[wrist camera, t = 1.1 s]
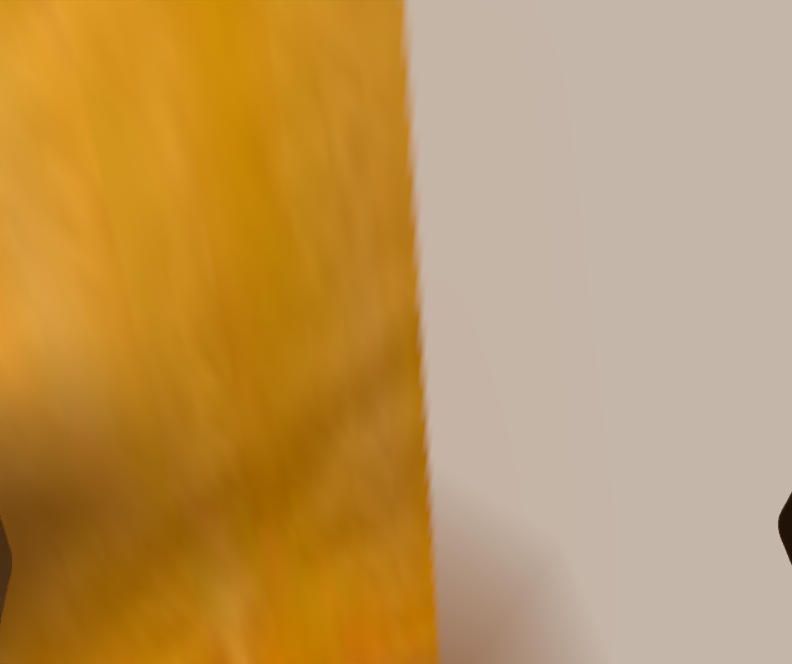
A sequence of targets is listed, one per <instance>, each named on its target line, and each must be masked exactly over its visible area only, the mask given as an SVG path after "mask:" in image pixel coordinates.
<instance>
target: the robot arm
mask: <svg viewBox="0 0 792 664" xmlns="http://www.w3.org/2000/svg"><path fill="white" fill-rule="evenodd" d="M778 529H779V534H780V537H781V540H782V542H783V545H784V547H785V550H786V552H787V555H788V557H789V560H790V562H791V564H792V493H791V494H790V496H789V498H788V500H787V502H786V504H785V505H784V507H783V509H782V511H781V513H780V515H779V520H778ZM11 568H12V555H11V549H10V546H9V542H8V539H7V536H6V533H5V530H4V526H3V523H2V520H1V517H0V622H1V617H2V613H3V608H4V603H5V599H6V594H7V589H8V585H9V580H10V575H11Z"/></svg>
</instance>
